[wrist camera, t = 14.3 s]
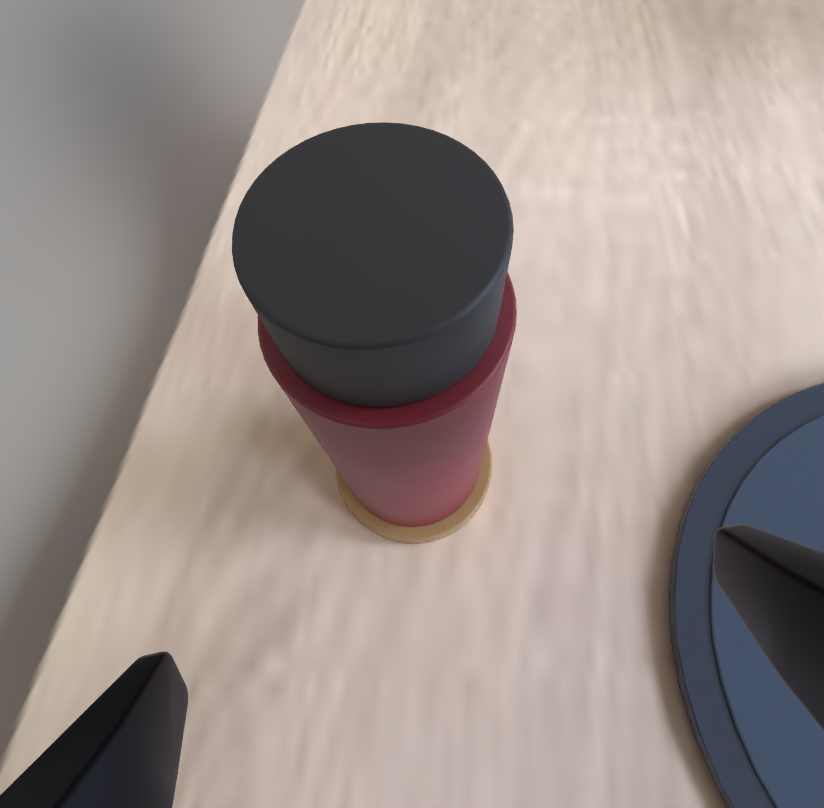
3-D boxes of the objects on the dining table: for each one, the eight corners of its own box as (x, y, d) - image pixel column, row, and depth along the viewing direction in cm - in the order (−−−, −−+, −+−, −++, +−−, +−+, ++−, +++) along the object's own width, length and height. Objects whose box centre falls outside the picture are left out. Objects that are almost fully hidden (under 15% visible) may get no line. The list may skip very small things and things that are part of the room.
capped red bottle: (463, 566, 17) (505, 460, 6) (315, 513, 18) (102, 330, 7) (507, 422, 18) (607, 125, 7) (371, 380, 19) (278, 60, 8)
